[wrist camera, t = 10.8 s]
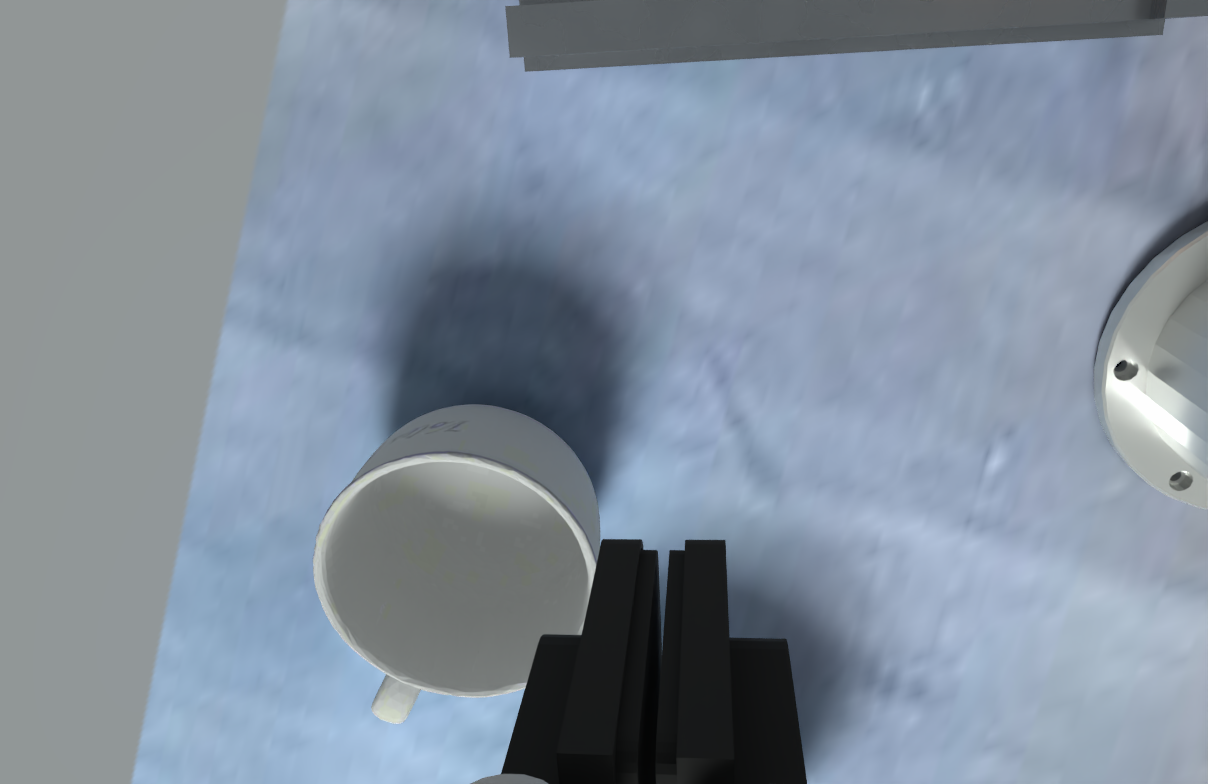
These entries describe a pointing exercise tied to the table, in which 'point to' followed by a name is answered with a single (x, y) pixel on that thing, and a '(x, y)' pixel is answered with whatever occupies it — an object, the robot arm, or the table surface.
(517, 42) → the chute
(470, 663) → the teacup
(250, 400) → the table surface
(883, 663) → the table surface
